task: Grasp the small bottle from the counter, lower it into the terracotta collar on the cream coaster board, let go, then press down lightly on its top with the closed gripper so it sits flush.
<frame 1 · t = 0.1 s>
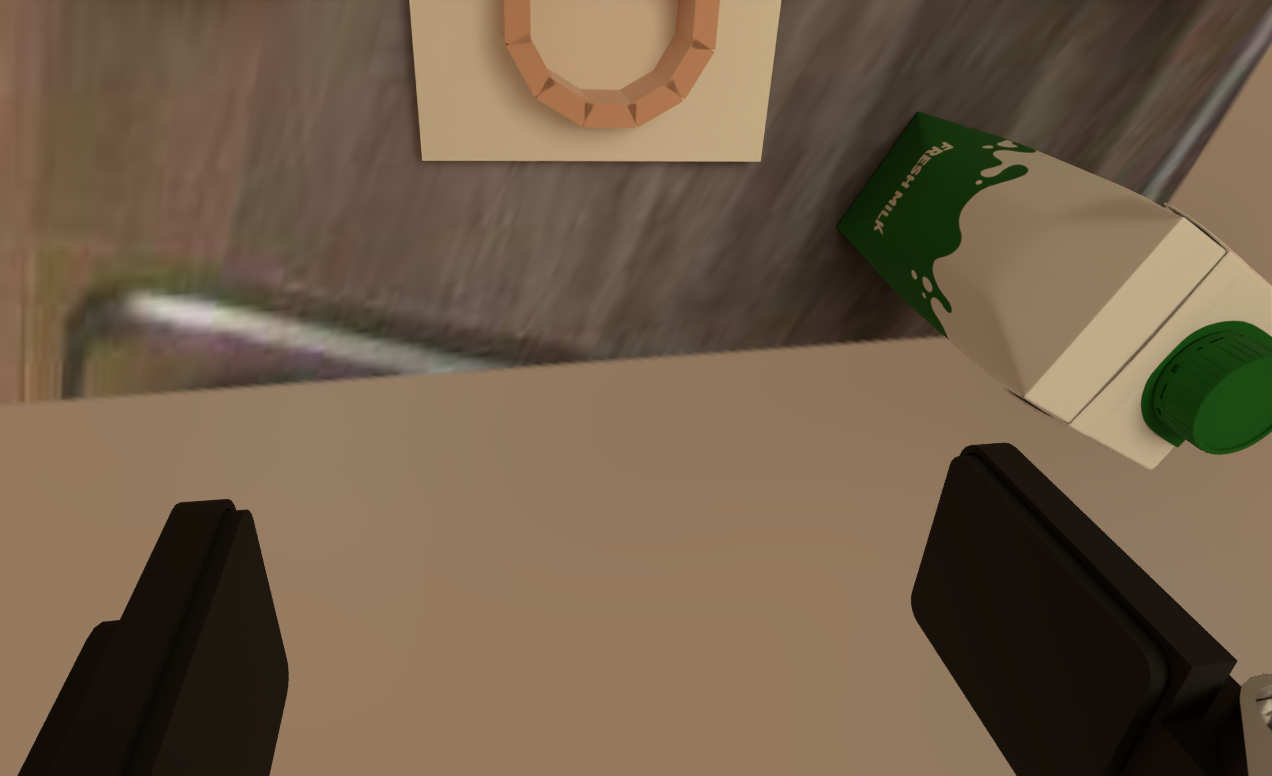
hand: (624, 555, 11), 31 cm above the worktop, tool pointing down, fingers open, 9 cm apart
bottle collar: (602, 8, 35), resting on coaster board
milk carton: (919, 199, 44), on the worktop
coaster board: (597, 5, 36), on the worktop
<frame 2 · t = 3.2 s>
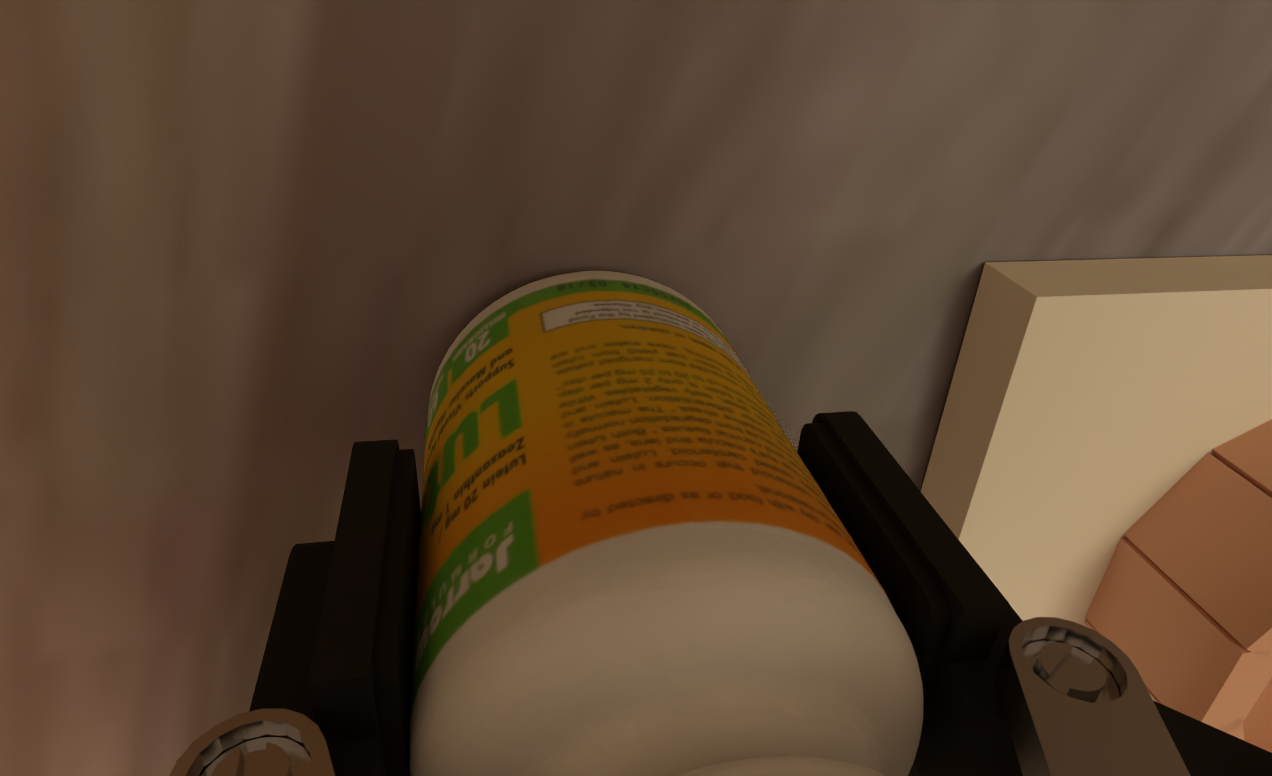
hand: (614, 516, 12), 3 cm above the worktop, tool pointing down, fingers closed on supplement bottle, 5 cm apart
supplement bottle: (584, 400, 14), on the worktop, touching gripper
coaster board: (1219, 516, 19), on the worktop
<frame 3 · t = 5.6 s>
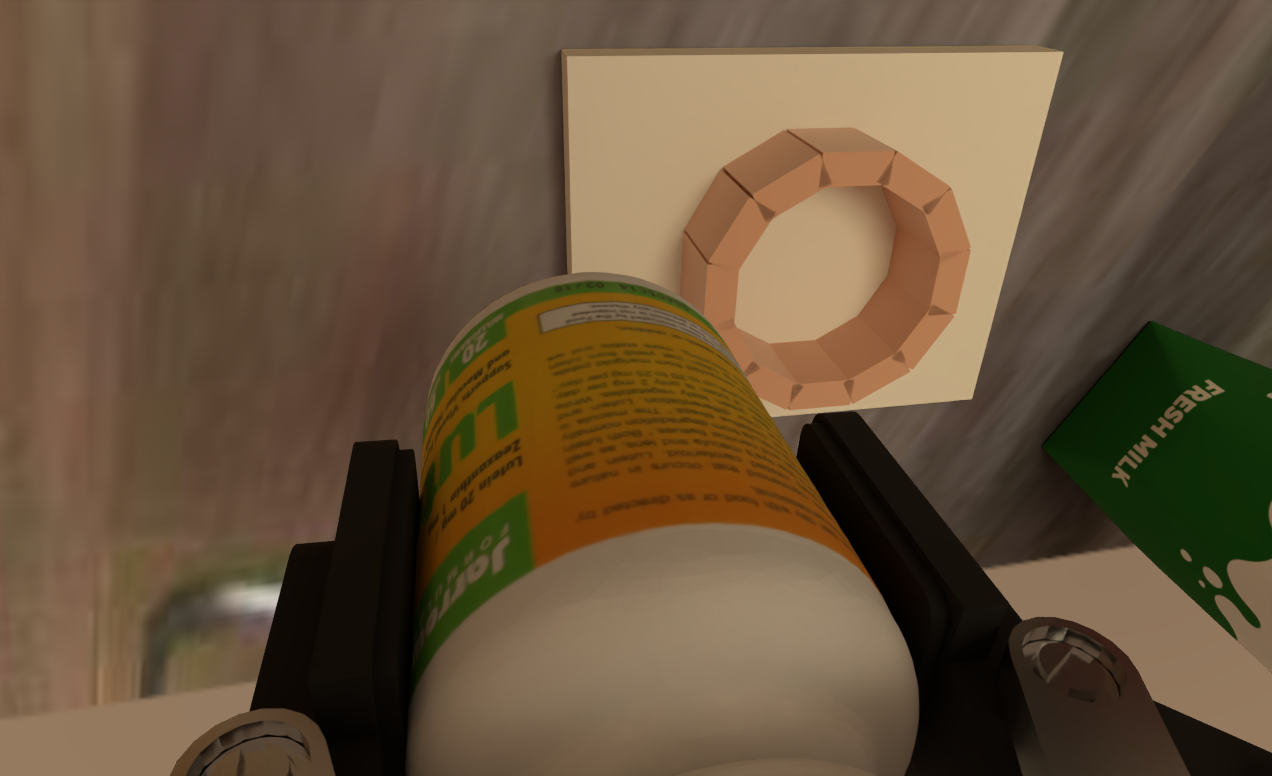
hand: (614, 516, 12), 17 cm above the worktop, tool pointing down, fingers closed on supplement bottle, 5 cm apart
supplement bottle: (582, 401, 14), point 14 cm above the worktop, touching gripper
bottle collar: (803, 256, 28), resting on coaster board
milk carton: (1138, 409, 37), on the worktop
coaster board: (788, 241, 29), on the worktop
when the fingers open (6 cm above the worktop, at t = 8.4 s): supplement bottle drops 1 cm, resting on coaster board.
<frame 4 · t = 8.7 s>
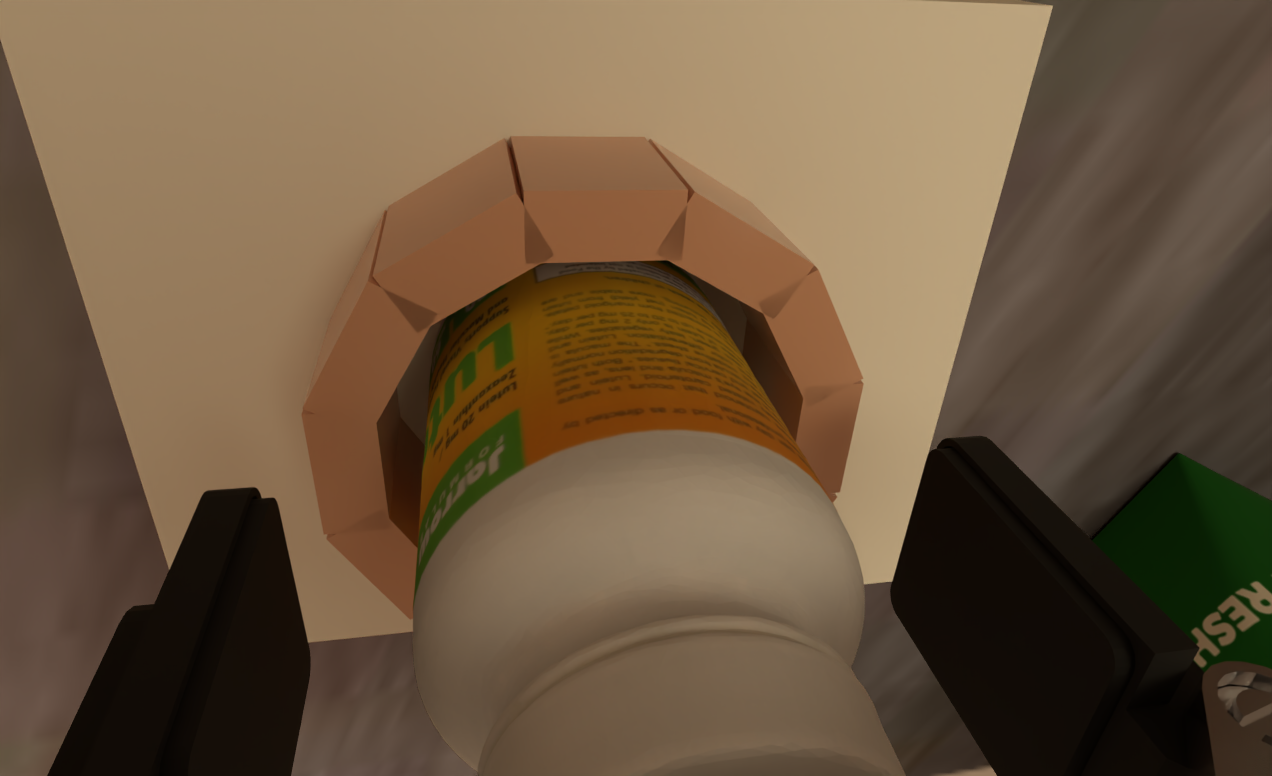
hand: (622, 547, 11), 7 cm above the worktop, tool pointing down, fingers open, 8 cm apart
supplement bottle: (576, 355, 15), point 1 cm above the worktop, touching coaster board
bottle collar: (575, 367, 15), resting on coaster board
milk carton: (1152, 570, 25), on the worktop
coaster board: (566, 332, 17), on the worktop
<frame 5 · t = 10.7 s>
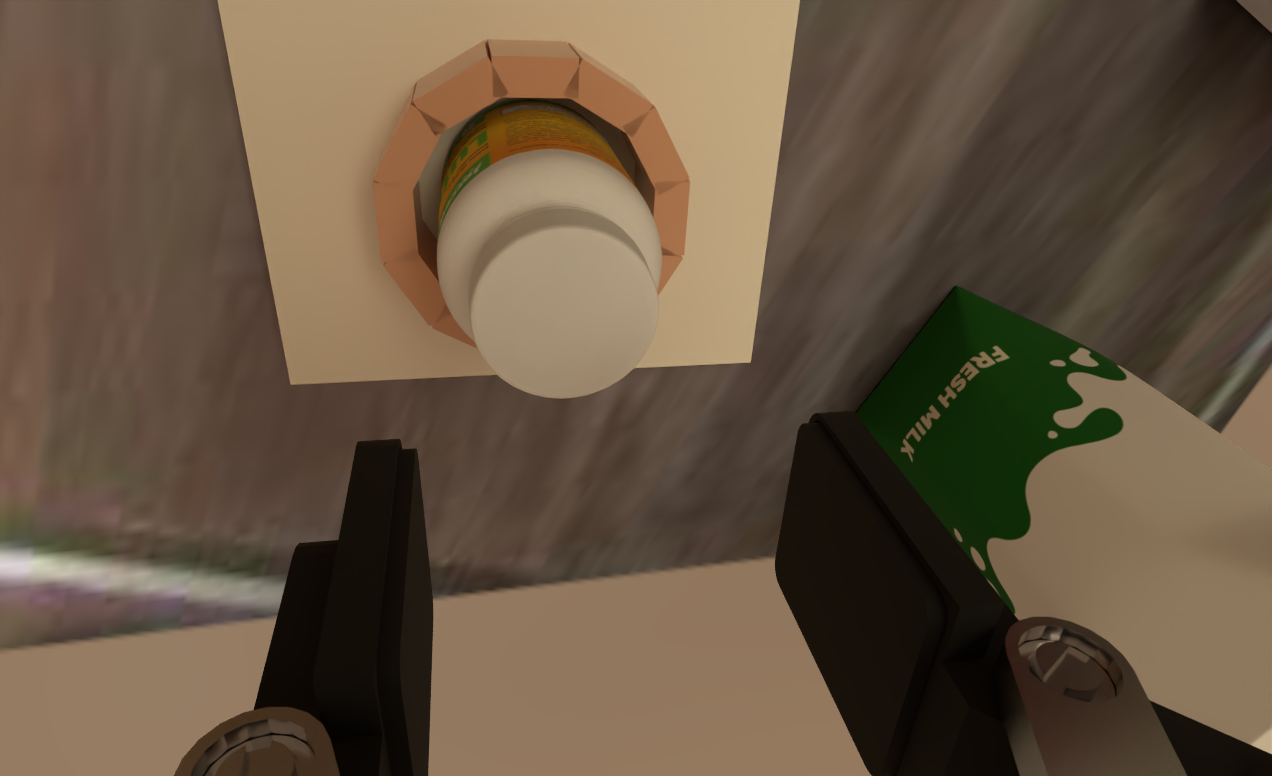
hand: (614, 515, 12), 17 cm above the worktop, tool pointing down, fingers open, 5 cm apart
supplement bottle: (530, 183, 25), point 1 cm above the worktop, touching coaster board
bottle collar: (529, 189, 25), resting on coaster board
milk carton: (955, 384, 34), on the worktop
coaster board: (526, 176, 26), on the worktop
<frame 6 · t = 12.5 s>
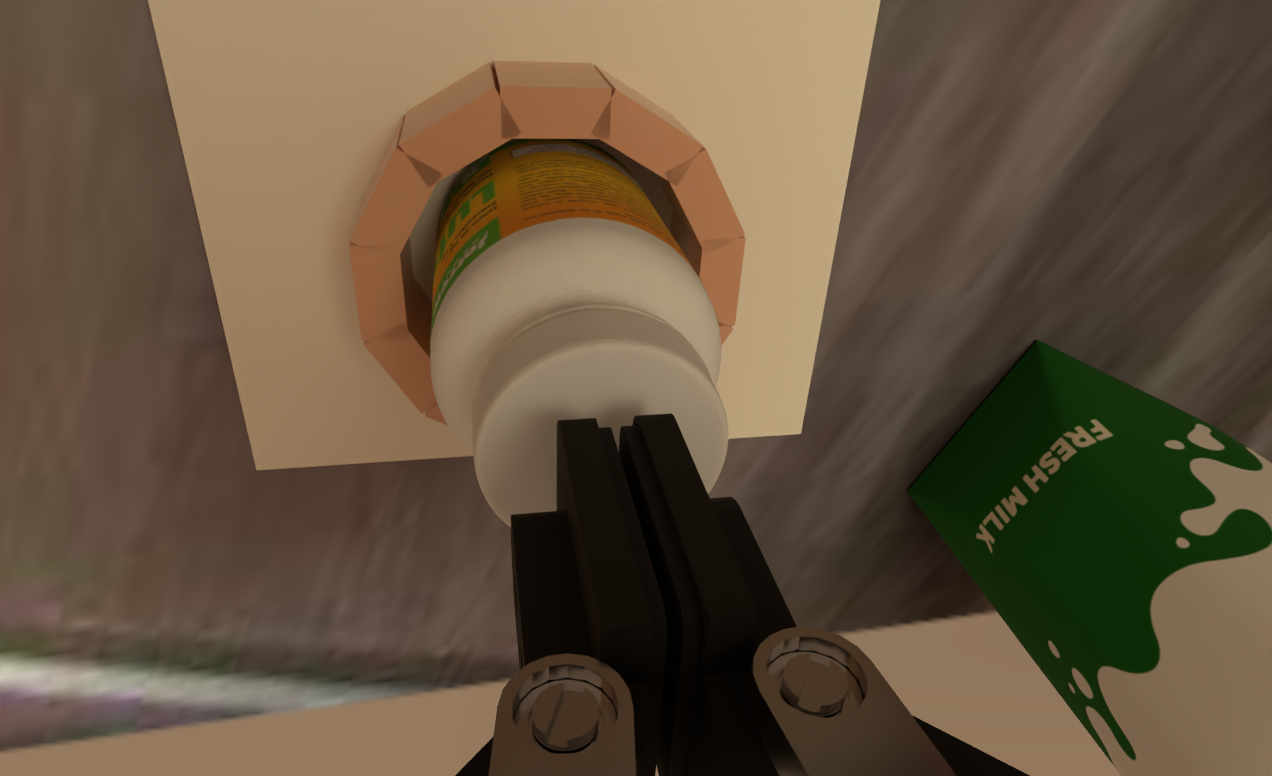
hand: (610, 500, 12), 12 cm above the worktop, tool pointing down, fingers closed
supplement bottle: (544, 233, 21), point 1 cm above the worktop, touching coaster board
bottle collar: (544, 241, 21), resting on coaster board
milk carton: (1028, 447, 30), on the worktop
coaster board: (538, 221, 22), on the worktop
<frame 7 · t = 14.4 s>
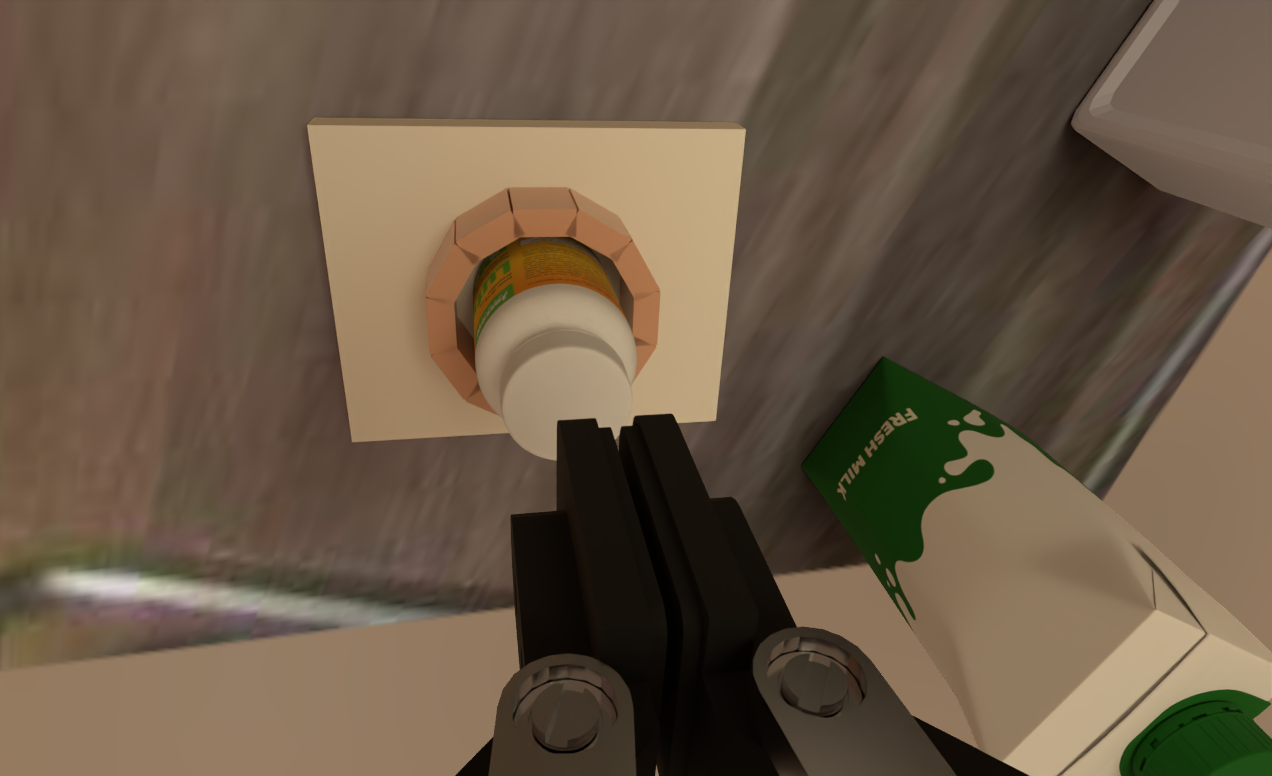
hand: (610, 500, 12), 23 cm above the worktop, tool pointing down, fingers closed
supplement bottle: (540, 288, 33), point 1 cm above the worktop, touching coaster board
bottle collar: (539, 293, 33), resting on coaster board
milk carton: (888, 434, 42), on the worktop
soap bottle: (1180, 66, 35), on the worktop
coaster board: (536, 280, 34), on the worktop
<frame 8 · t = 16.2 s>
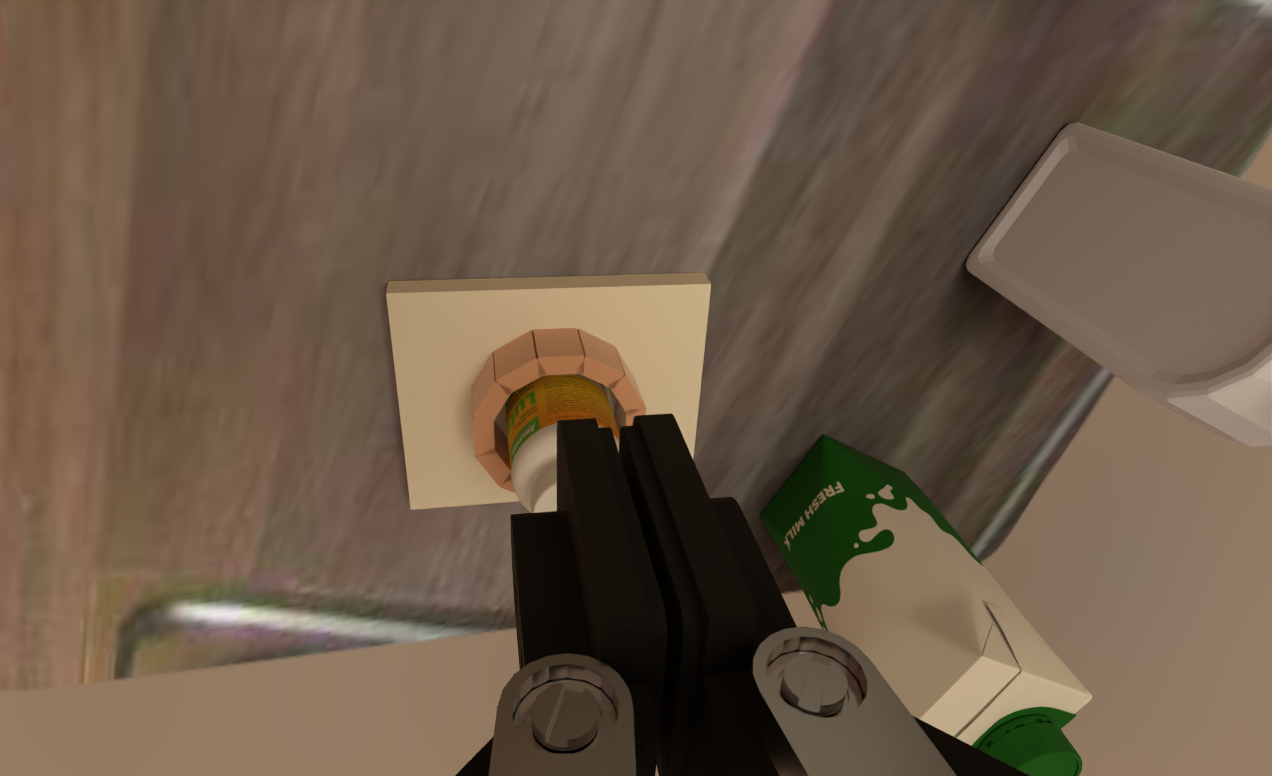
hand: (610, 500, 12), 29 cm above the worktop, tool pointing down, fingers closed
supplement bottle: (555, 396, 43), point 1 cm above the worktop, touching coaster board
bottle collar: (554, 401, 43), resting on coaster board
milk carton: (830, 491, 52), on the worktop
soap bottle: (1051, 220, 45), on the worktop
coaster board: (552, 387, 44), on the worktop
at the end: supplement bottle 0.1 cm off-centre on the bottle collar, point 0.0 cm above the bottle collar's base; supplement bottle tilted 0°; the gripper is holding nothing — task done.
